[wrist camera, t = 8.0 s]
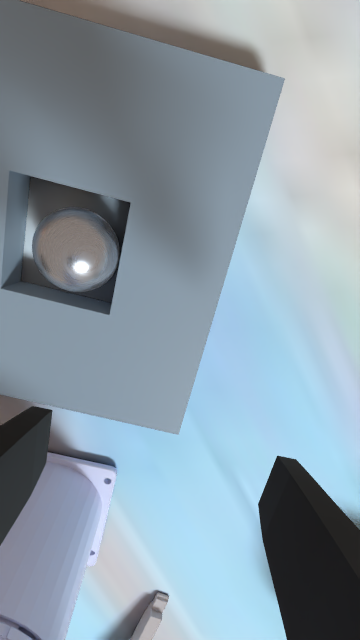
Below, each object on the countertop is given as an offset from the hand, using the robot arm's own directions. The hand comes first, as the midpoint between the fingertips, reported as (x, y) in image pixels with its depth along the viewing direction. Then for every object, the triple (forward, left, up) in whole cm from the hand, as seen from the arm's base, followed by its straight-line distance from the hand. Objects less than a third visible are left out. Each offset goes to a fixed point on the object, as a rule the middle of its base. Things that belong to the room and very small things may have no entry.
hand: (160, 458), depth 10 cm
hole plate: (+4, +6, -9) cm, 12 cm away
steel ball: (+4, +6, -7) cm, 10 cm away
